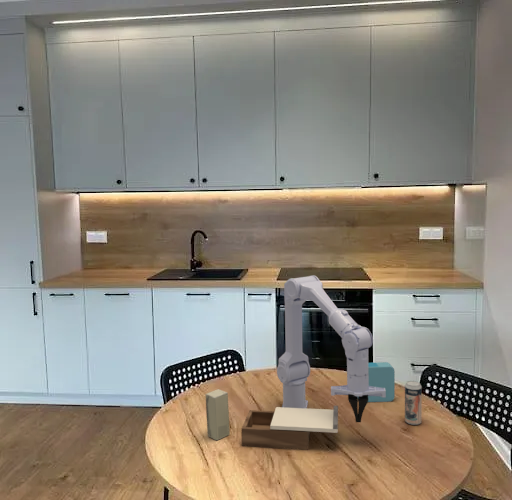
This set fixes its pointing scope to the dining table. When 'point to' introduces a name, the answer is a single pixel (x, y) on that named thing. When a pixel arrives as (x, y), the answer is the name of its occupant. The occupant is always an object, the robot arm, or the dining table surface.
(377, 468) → the dining table surface
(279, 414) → the lid
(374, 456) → the dining table surface
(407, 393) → the beer can
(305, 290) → the robot arm
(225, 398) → the box
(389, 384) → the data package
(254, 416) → the walnut box
